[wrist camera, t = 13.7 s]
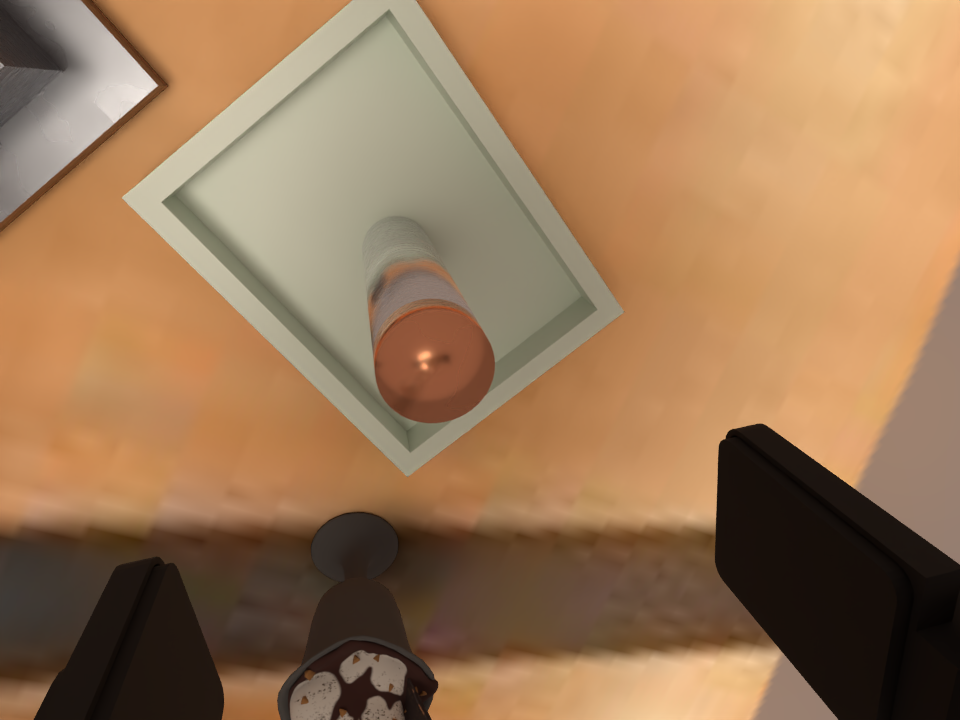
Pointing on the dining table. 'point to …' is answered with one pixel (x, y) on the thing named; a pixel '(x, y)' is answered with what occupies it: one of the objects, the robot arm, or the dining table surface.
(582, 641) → the dining table surface
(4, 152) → the block
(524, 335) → the tray
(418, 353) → the pin
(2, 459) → the dining table surface
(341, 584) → the sundae
